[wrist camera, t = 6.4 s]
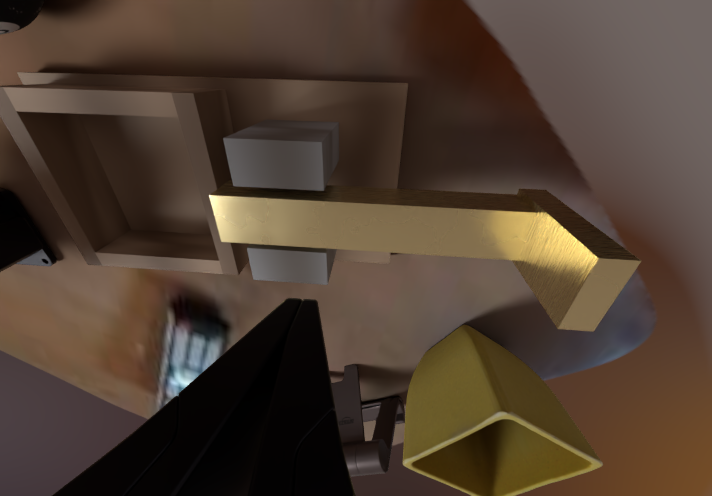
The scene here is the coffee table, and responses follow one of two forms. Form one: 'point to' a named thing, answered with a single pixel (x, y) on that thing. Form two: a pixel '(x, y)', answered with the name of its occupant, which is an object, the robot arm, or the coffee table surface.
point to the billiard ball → (18, 14)
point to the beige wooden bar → (444, 235)
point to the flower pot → (488, 421)
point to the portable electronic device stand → (350, 420)
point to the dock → (198, 160)
